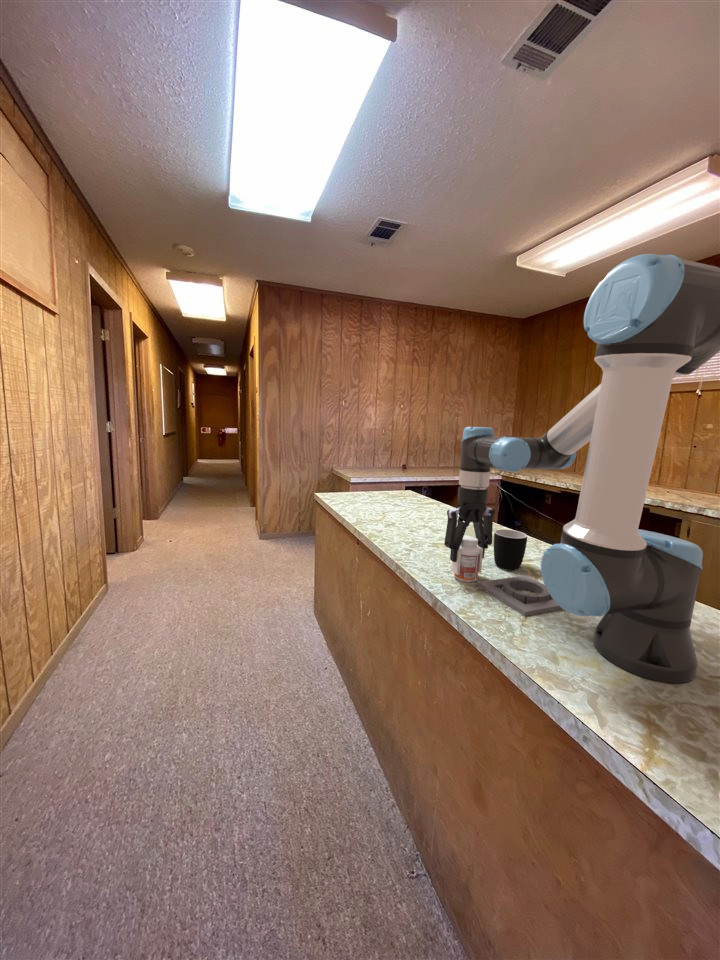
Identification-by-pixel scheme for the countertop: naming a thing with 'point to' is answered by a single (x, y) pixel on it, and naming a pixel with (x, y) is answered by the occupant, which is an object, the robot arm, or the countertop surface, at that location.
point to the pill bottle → (469, 559)
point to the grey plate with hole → (521, 594)
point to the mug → (509, 548)
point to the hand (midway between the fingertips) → (466, 571)
